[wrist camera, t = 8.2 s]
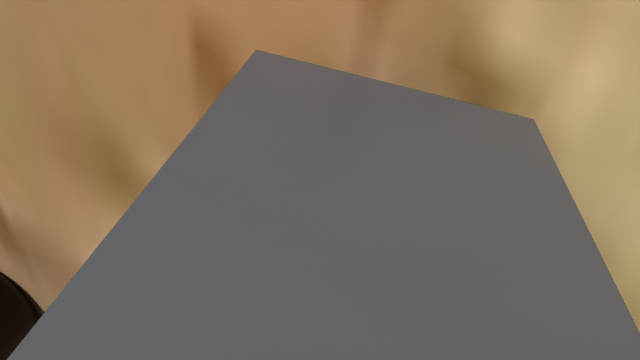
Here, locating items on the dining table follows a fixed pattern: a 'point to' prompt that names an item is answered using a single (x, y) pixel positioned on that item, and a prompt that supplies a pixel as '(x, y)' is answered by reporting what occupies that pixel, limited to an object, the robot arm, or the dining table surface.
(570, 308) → the rectangular block
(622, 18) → the dining table surface
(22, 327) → the supplement bottle
